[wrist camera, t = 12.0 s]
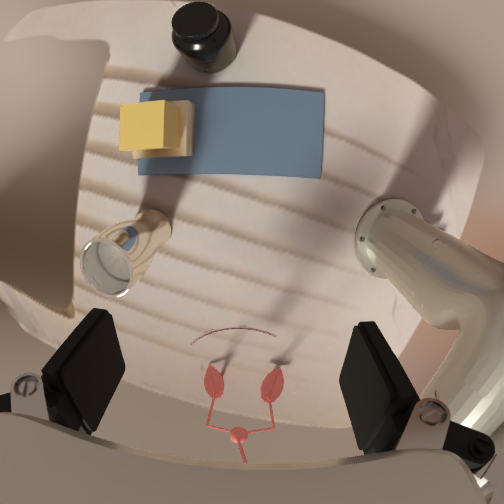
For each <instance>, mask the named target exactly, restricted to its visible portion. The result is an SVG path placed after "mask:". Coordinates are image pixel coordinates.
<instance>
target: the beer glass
mask: <svg viewBox="0 0 504 504" xmlns="http://www.w3.org/2000/svg"><path fill="white" fill-rule="evenodd" d="M170 236H171V225H170V222H169V220H168V218H167V217H166V216H165V215H164V214H163V213H162V212H160V211H158V210H155V209H146V210H144V211H142V212H140V213H139V214H138V215H137V216H136V217H135V219H133V220H128V221H123V222H119V223H116V224H114V225H112V226H110V227H108V228H106V229H105V230H103V231H102V232H100V233H99V234H98V235H97V236H95V237H94V238H93V239H92V240H91V241H89V242H88V243H87V244H86V245H85V246H84V247H83V249H82V251H81V255H80V268H81V272H82V275H83V277H84V279H85V280H86V282H87V283H88V285H89V286H90V287H91V288H92V289H93V290H94V291H96V292H97V293H99V294H100V295H103V296H105V297H110V298H116V297H120V296H122V295H124V294H125V293H127V292H128V290H129V289H130V288H131V287H132V286H134V285H135V284H136V283H137V282H138V281H139V280H140V279H141V278H142V276H143V275H144V274H145V273H146V271H147V270H148V268H149V267H150V265H151V263H152V261H153V259H154V256H155V254H156V251H157V249H159V248H161V247H163V246H164V245H165V244H166V243H167V242H168V241H169V239H170Z"/></svg>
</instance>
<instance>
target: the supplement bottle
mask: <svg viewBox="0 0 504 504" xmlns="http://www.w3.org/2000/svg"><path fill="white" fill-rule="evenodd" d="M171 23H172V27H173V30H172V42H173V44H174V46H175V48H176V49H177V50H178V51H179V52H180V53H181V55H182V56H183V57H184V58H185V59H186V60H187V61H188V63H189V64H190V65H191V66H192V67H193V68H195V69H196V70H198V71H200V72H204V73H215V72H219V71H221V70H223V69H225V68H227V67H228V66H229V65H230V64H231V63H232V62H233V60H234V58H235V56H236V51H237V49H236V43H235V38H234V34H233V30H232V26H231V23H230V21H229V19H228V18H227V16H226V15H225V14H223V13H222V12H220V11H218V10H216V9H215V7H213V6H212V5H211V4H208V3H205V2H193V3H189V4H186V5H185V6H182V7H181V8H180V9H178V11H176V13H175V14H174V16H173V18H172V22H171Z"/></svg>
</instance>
